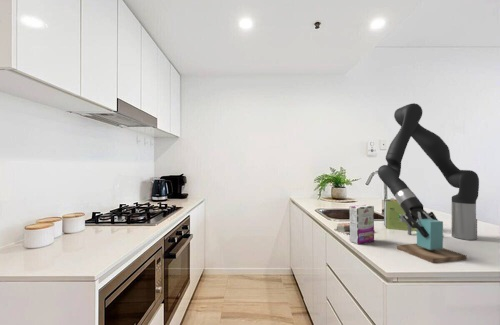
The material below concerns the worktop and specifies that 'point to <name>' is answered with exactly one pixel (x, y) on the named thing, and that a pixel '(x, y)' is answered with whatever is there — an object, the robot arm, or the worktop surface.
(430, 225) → the teal rectangular block
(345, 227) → the packaged product
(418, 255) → the plate
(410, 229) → the mechanical component
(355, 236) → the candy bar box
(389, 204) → the protein box
